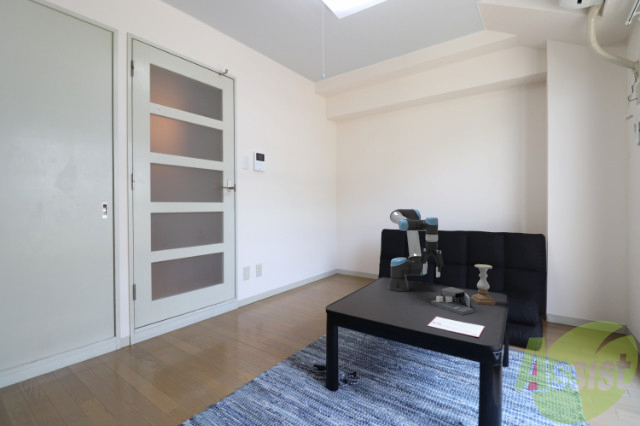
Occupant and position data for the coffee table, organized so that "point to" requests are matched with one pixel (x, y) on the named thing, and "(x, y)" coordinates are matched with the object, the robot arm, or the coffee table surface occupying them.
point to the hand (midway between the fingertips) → (431, 275)
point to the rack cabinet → (454, 294)
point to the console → (453, 307)
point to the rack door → (467, 300)
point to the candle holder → (483, 287)
